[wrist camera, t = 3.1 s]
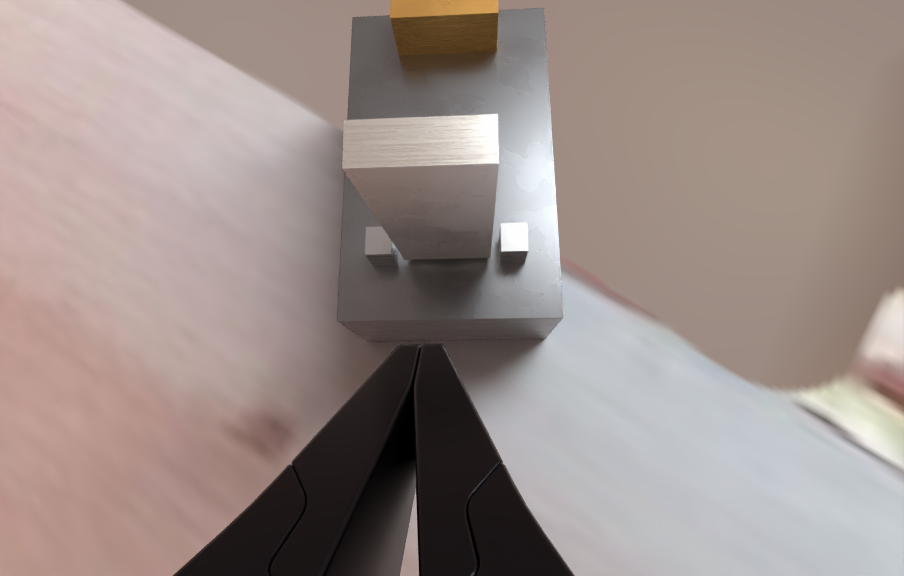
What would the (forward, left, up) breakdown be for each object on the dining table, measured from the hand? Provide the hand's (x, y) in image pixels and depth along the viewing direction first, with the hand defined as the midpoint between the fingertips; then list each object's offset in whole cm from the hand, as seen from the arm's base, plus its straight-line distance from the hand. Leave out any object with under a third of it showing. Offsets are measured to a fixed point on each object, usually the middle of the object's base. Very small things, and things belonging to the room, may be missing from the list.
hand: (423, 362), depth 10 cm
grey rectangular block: (+6, +6, -13) cm, 16 cm away
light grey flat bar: (+4, +4, -3) cm, 6 cm away
